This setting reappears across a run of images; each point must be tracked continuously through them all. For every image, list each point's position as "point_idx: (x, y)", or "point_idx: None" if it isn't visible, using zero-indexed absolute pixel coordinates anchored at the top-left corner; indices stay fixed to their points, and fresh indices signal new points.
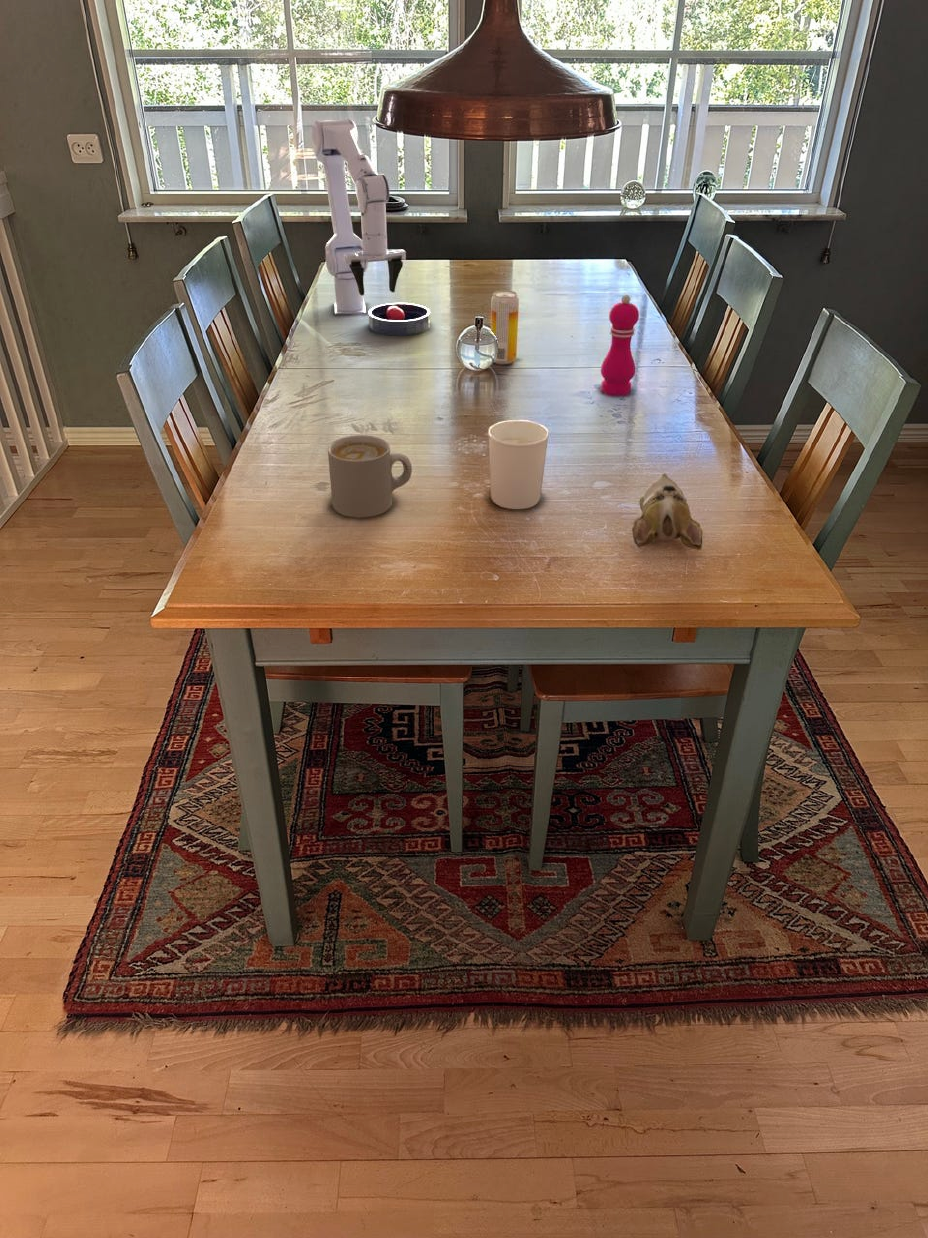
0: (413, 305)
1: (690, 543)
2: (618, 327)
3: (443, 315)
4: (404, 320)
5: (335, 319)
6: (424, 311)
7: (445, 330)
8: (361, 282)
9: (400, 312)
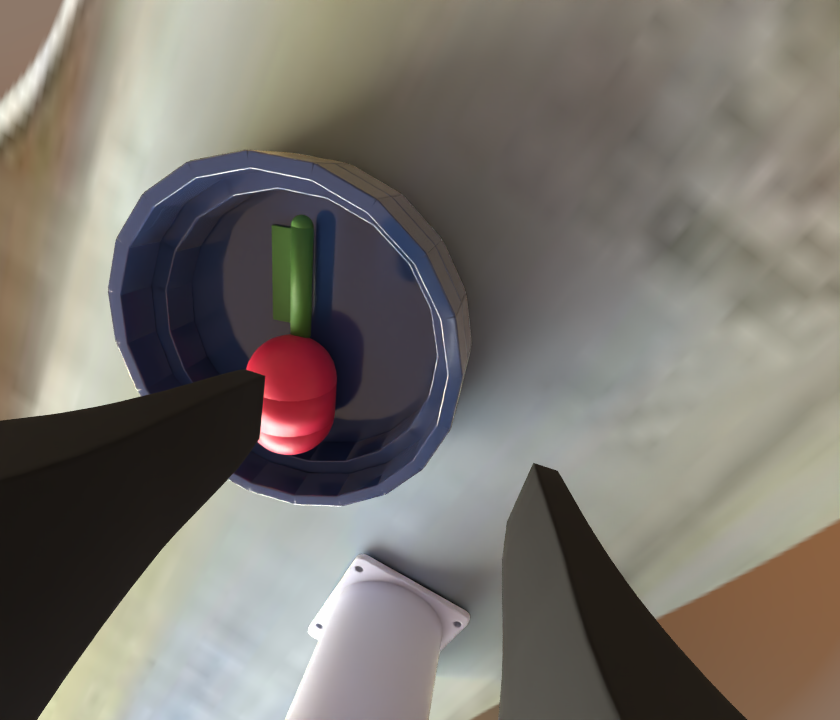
0: None
1: None
2: None
3: (80, 352)
4: None
5: (501, 580)
6: (140, 323)
7: (125, 150)
8: (592, 559)
9: (270, 357)
